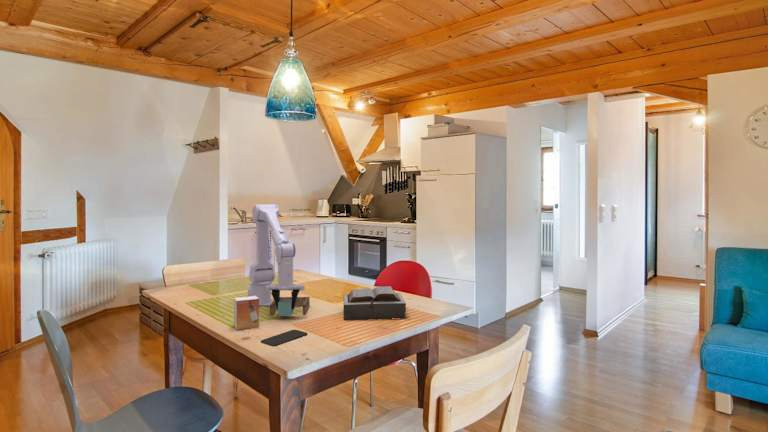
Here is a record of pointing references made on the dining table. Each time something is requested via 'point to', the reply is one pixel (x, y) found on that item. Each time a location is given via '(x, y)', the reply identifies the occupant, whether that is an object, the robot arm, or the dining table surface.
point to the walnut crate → (299, 302)
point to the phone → (283, 337)
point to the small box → (246, 312)
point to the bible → (374, 304)
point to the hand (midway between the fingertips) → (285, 308)
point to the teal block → (285, 308)
